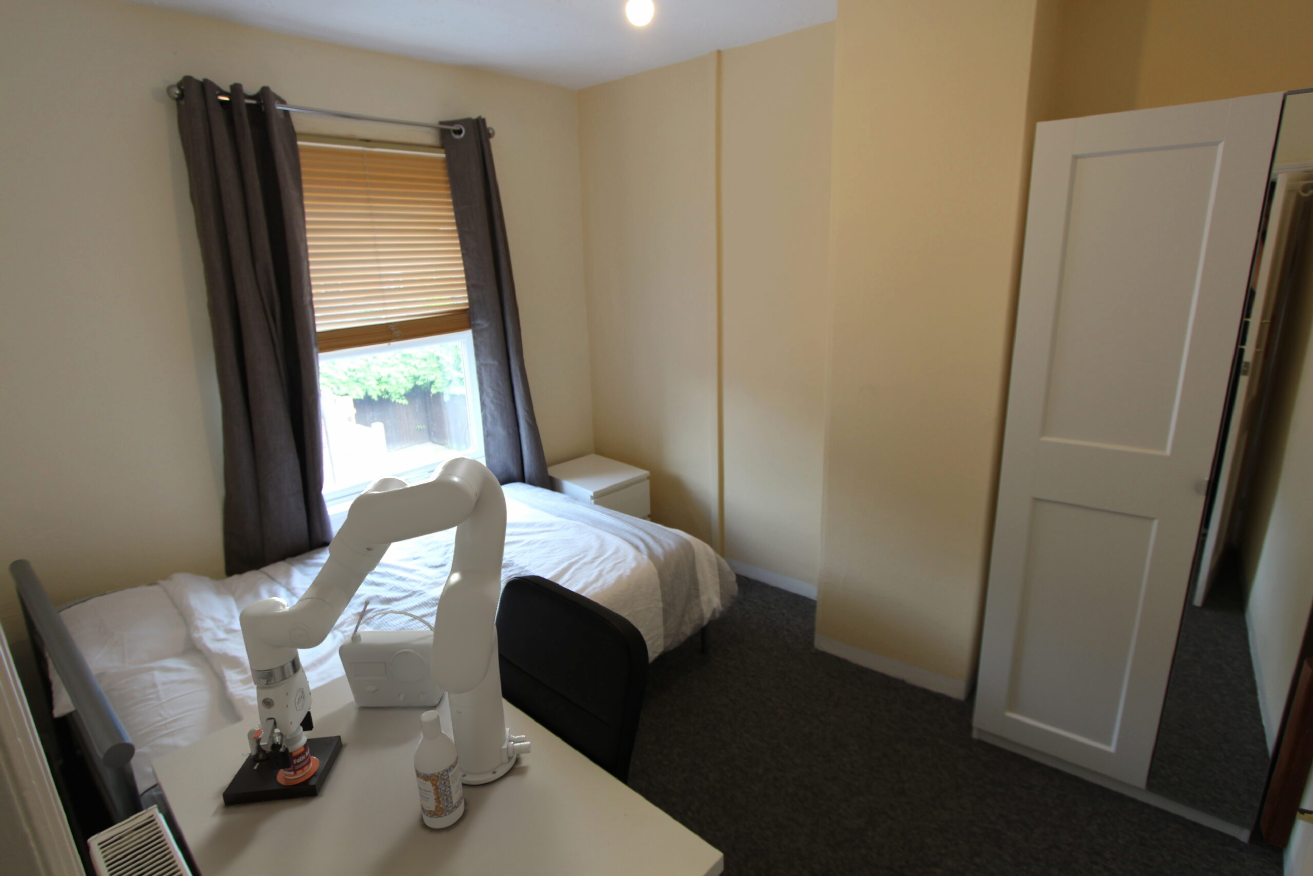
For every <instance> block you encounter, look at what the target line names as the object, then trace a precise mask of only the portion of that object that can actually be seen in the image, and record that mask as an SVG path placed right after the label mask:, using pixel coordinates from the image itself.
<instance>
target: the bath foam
mask: <svg viewBox="0 0 1313 876" xmlns="http://www.w3.org/2000/svg"><path fill="white" fill-rule="evenodd" d="M420 726H421V732H422V736H421V737H420V740H419V742H418V744H417V745H416V748H415V751H414V756H413V758H414V759H413V763H414V771H415V777H416V778H415V779H416V783H417V791H418V797H419V803H420V808H421V815H422V819H423V822H424V824H425V825H426V826H428V827H429V828H432V829H439V830H440V829H444V828H447V827H450V826H452V825H454V824H455V823H456V822H457V821H459V819H460V818H461V817H462V816H463V814H464V811H465V800H464V791H463V783H461V776H460V769H459V762H458V755H457V750H456V747H455V742H454V740H453V739H452V738H451V737H450V736H449V735H448V734H447V733H446V732H444V731H443V730H442V725H441V719H440V713H439V712H438V711H437V710H434V709H433V710H428V711H425V712H424V713H423V714H421V716H420Z"/></svg>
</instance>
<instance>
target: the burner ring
mask: <svg viewBox="0 0 1313 876" xmlns="http://www.w3.org/2000/svg"><path fill="white" fill-rule="evenodd" d="M310 758H311V762H312V766H311V769H310V770H309V771H308V772H307V773H306V774H304V775H303V776H301V777H298V778H295V779H288V778H286V777H285V776H284V775H283V770H282V769H281V770H280V771H279V772H278V775H277V781H278V782H279V783H280V784H282V785H295V784H298V783H301V782H303V781H305V780H307V779H308V778H310V777H311V776H312V775H314V774H315V772H316V771H317V770H318V768H319V761H318V759H317V758H315V757H310Z"/></svg>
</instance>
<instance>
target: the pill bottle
mask: <svg viewBox="0 0 1313 876" xmlns="http://www.w3.org/2000/svg"><path fill="white" fill-rule="evenodd" d="M279 732H281V731H280V730H279ZM280 738H281V736H277V742H279V744H280ZM307 739H308V738H307V736H306V735H305V734H304V732H303V729H302V727H301V726H300V725H299V726H298V728H297V729H296V731H295V732H294V733H293V734H292V735H287V739H286V747H288V748H289V753H290V757H291V762H292V766H291V767H290V768H288V769H282V770H283V775H284V776H285V777H286V778H288V779H295V778H298V777H301V776H303V775H304V774H306V773H307V772H308V771H309V770H310V769H311V766H312V762H311V758H310V752H309V747H308V742H307Z"/></svg>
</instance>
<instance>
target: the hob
mask: <svg viewBox="0 0 1313 876" xmlns="http://www.w3.org/2000/svg"><path fill="white" fill-rule="evenodd" d="M307 742H308V747H309V752H310V757H315V758H317V759H318V761H319V768H318V770H317V771H316V772H315V774H314V775H312V776H311V777H310V778H308V779H307V780H305V781H303V782H301V783H298V784H295V785H282V784H280V783H279V782H278V781H277V775H278V772H279V771H280V770H281V769H279V770H273V769H272V767H271V763H270V758H268V759H265V760H261V761H256V760H254V759H253V758H252V754H251V752H249V753H248V752H247V753H242V754H241V756H242V757H243V756H244V757H245V756H247V757H246V759H245V760H244V761H243V763H242V765H241V766H240V768H239V769H238V771H237V772H236V773H235V775H234V776H233V778H232V779H231V781H230V782H229V783H228V786H227V787H226V788H225V790H224V791H223V793H222V794H221V796H222V799H223V804H224V806H225V807H228V806H235V805H237V806H238V805H246V804H254V803H255V804H256V803H263V802H265V803H266V802H274V801H282V800H292V799H301V798H309V797H318V796H319V794H320V792H321V789H322V788H323V786H324V784H325V782H326V781H327V778H328V776H329V774H330V772H331V770H332V768H333V766H334V764H335V763H336V760H337V758H338V756H339V754H340V752H341V750H342V748H343V741H342V735H329V736H322V737H320V736H319V737H310V738H307ZM277 744H279V742H278V741H277Z"/></svg>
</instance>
